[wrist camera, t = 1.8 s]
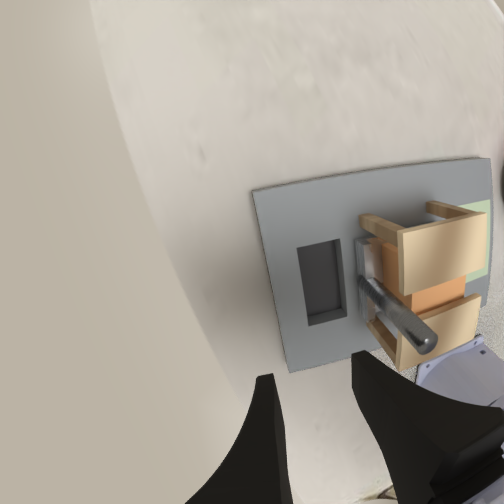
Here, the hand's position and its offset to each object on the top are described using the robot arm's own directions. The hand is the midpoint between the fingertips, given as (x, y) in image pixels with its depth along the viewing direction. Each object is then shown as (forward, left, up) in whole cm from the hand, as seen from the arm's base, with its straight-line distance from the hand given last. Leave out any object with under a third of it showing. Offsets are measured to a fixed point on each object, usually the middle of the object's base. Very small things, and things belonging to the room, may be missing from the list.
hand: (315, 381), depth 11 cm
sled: (-9, 0, -9) cm, 12 cm away
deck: (-10, 0, -10) cm, 14 cm away
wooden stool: (-9, 0, -9) cm, 13 cm away
